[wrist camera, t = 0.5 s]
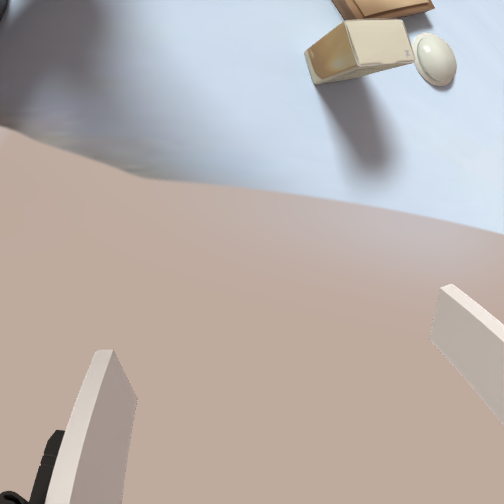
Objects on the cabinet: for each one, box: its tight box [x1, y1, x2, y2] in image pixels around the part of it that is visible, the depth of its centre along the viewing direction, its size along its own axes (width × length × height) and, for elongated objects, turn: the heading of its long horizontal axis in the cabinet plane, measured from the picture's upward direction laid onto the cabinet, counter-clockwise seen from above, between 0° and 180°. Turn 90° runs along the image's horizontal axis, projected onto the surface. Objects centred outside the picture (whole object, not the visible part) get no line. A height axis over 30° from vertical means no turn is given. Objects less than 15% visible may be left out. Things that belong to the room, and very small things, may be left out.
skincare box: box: [304, 19, 416, 84], centre depth 24 cm, size 6×4×12 cm
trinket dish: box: [412, 33, 457, 86], centre depth 30 cm, size 8×8×2 cm
